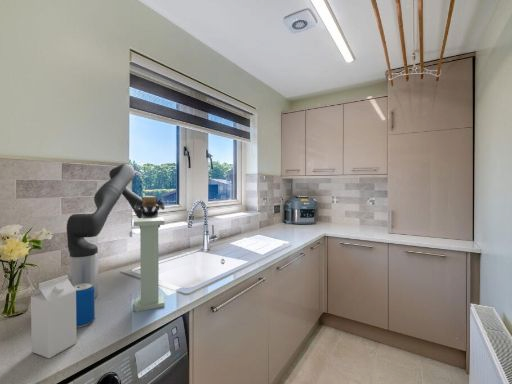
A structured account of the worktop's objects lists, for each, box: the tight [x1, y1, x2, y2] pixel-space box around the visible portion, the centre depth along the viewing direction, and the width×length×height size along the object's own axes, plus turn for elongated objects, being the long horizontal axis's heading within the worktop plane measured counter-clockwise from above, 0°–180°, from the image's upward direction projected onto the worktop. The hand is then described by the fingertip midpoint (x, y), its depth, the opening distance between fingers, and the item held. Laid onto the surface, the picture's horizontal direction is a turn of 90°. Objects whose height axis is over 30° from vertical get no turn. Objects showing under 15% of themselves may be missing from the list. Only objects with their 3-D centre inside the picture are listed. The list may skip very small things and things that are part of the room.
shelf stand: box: [133, 217, 166, 312], centre depth 95 cm, size 9×10×32 cm
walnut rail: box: [142, 196, 157, 207], centre depth 113 cm, size 16×5×4 cm, turn 22°
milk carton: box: [30, 274, 77, 359], centre depth 70 cm, size 7×7×19 cm
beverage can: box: [74, 283, 96, 328], centre depth 82 cm, size 6×6×12 cm
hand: (149, 198), depth 115 cm, fingers closed on walnut rail, 3 cm apart
